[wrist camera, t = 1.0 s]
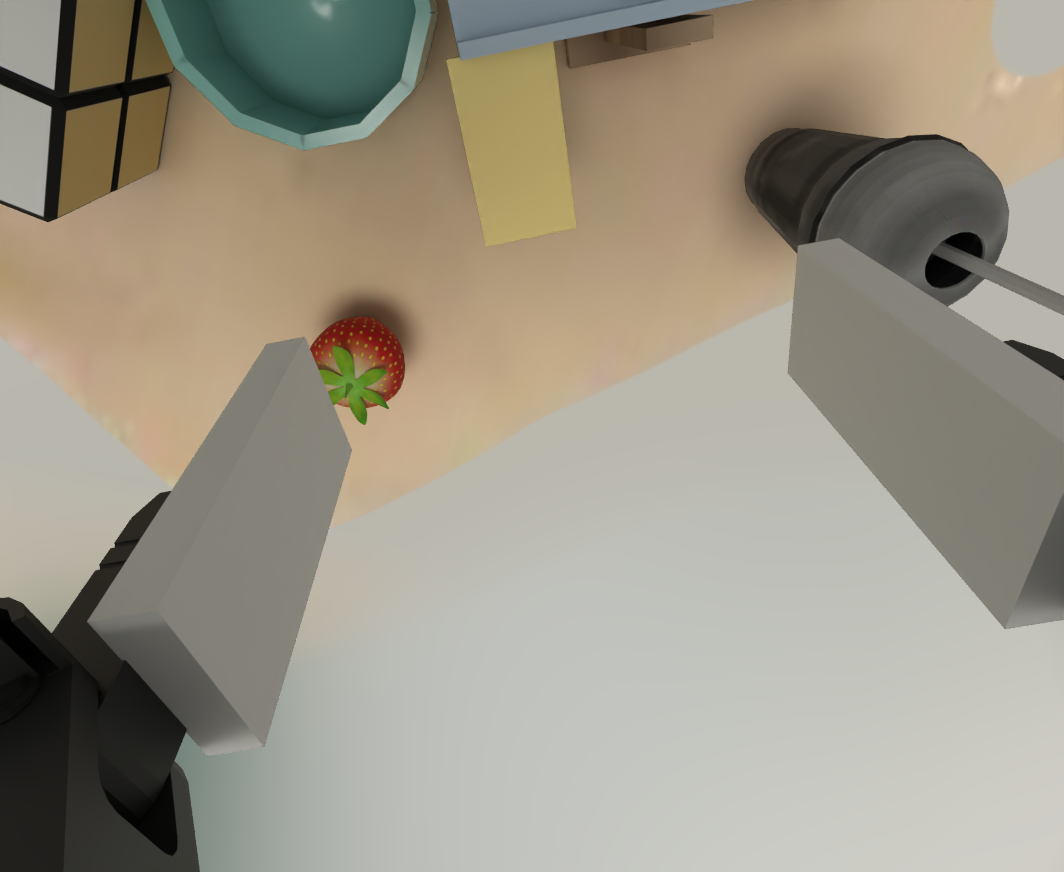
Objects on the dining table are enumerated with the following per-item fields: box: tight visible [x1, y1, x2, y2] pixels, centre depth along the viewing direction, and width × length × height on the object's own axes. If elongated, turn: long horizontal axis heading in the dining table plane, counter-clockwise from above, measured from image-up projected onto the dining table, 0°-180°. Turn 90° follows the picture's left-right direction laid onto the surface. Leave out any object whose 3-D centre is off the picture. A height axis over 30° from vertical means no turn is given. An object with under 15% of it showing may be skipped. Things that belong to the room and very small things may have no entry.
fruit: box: [310, 317, 405, 425], centre depth 36 cm, size 5×5×8 cm
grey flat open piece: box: [446, 0, 752, 247], centre depth 22 cm, size 18×13×3 cm
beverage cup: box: [745, 128, 1064, 315], centre depth 27 cm, size 7×7×20 cm
